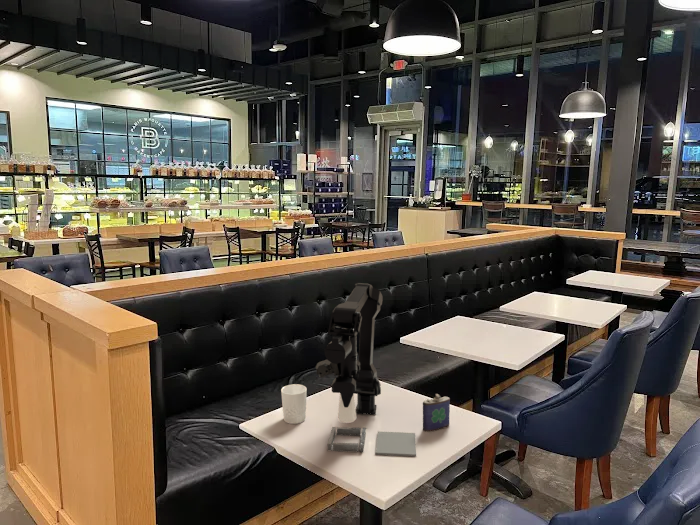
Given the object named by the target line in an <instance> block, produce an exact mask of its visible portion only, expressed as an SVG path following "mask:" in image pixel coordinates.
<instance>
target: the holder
mask: <svg viewBox="0 0 700 525" xmlns="http://www.w3.org/2000/svg"><path fill="white" fill-rule="evenodd" d="M349 435H350V436H351V437H352V436H354V437H355V436H356V437H358V436H359V437H360V442H359V443H356V442H334V441H335V438H336V436H349ZM366 435H367V428H366V427H362V428H361V427H344V426H342V427H341V426H337V427H336V426H332V427H331V429H330V434H329V438H328V442H327V451H328V450H331V451H332V452H348V451H357V452H356V453H358V452H359V453H364V452H365V451H364V449H365V443H366ZM332 445H333V446H332Z"/></svg>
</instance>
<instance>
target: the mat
mask: <svg viewBox="0 0 700 525" xmlns="http://www.w3.org/2000/svg"><path fill="white" fill-rule="evenodd" d="M376 435H377V437H376V448H375V455H378V456H397V457H398V456H399V457H417V446H416V445H417V443H416V433H415V432H403V431H402V432H400V431H379V430H378V431H377V434H376Z"/></svg>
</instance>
